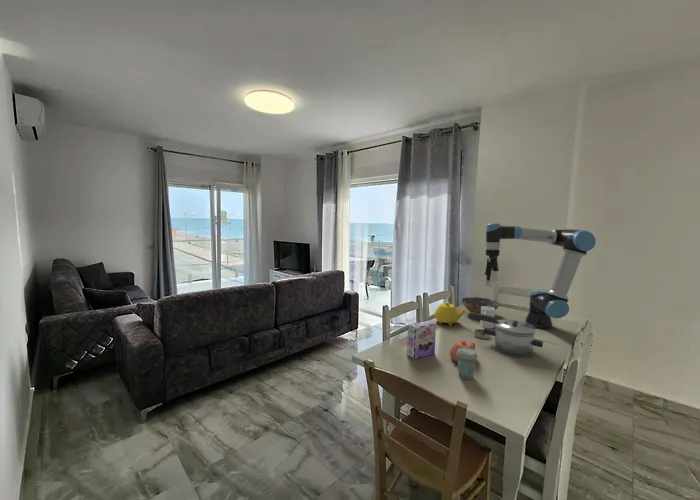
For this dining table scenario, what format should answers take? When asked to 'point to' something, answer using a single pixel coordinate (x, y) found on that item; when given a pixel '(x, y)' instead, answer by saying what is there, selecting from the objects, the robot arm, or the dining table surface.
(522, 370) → the dining table surface
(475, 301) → the bowl
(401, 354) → the dining table surface
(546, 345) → the dining table surface
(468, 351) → the coffee cup
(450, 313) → the teapot
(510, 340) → the pot
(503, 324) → the lid
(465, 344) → the sugar bowl
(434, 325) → the candy box
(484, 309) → the mug
